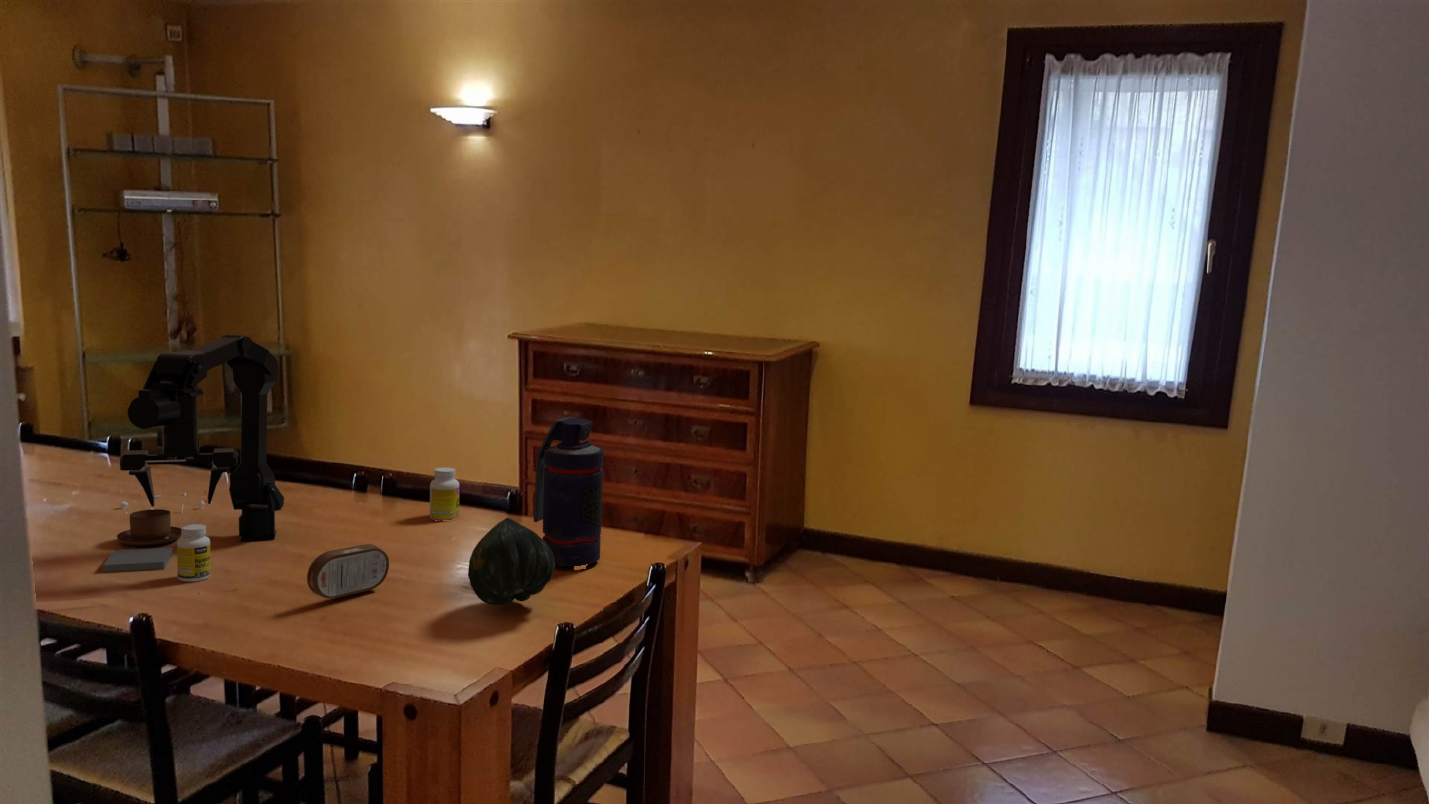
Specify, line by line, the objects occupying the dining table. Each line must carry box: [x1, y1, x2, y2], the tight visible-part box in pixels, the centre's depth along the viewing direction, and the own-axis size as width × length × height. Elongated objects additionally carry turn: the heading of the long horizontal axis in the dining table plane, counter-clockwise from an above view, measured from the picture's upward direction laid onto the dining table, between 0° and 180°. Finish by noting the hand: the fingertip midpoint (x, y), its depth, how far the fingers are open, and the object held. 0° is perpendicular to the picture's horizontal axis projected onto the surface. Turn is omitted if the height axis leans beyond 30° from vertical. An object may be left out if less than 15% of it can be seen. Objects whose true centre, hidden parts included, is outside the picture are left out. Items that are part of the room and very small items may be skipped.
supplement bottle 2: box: [429, 467, 460, 521], centre depth 226 cm, size 7×7×13 cm
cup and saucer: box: [116, 508, 183, 547], centre depth 201 cm, size 12×12×6 cm
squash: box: [467, 517, 556, 606], centre depth 172 cm, size 14×15×15 cm
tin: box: [306, 543, 390, 600], centre depth 175 cm, size 15×3×8 cm, turn 141°
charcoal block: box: [102, 547, 174, 574], centre depth 187 cm, size 10×10×2 cm
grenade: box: [533, 416, 604, 567], centre depth 198 cm, size 14×12×30 cm
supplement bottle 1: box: [176, 523, 211, 583], centre depth 179 cm, size 5×5×10 cm
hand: (181, 504), depth 179 cm, fingers open, 9 cm apart
